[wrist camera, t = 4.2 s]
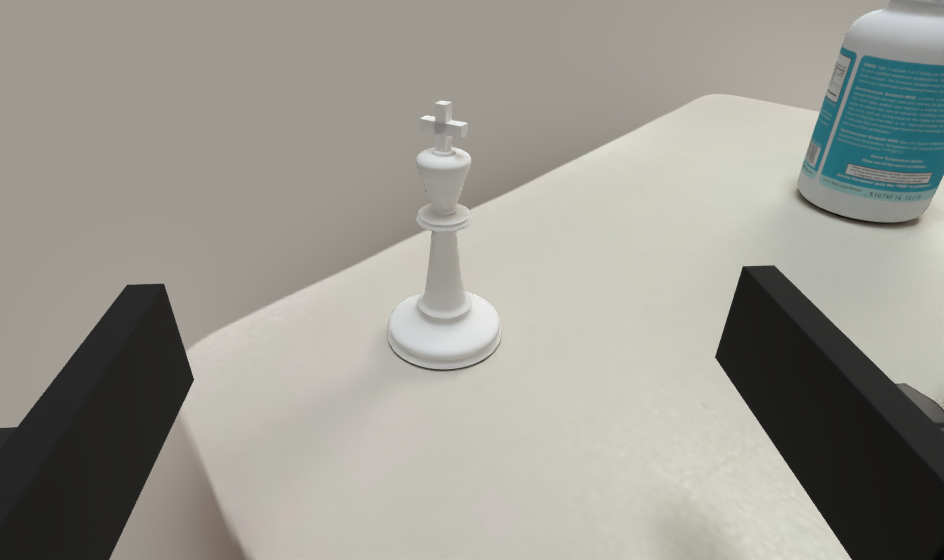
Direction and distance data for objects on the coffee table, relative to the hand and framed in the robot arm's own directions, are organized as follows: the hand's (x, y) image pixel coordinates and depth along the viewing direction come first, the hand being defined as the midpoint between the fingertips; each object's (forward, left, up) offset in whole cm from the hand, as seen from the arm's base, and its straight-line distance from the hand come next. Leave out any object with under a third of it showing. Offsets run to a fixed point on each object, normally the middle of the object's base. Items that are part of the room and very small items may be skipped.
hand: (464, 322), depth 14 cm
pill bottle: (+35, +5, -8) cm, 36 cm away
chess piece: (+5, +8, -8) cm, 12 cm away
